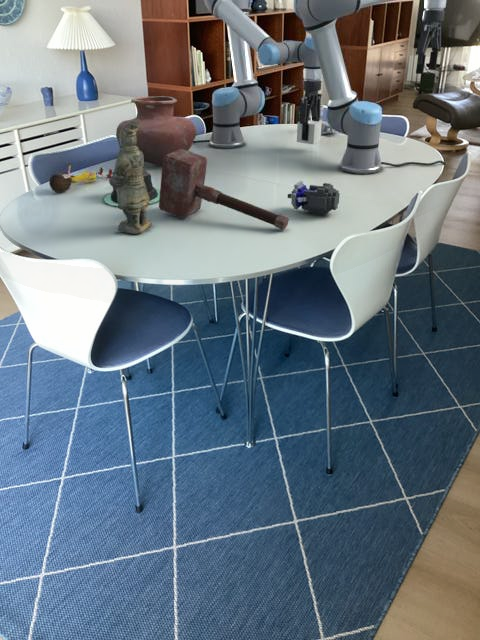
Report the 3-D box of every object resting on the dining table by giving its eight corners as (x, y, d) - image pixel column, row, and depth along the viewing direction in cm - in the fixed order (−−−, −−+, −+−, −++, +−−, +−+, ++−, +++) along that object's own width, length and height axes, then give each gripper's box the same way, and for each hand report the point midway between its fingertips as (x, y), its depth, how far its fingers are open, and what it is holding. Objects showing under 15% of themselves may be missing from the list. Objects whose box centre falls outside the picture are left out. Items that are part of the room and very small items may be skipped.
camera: (318, 104, 267) (345, 108, 259) (317, 129, 274) (342, 134, 265) (308, 106, 262) (334, 110, 253) (306, 132, 268) (332, 137, 259)
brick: (303, 139, 240) (304, 119, 236) (320, 141, 236) (321, 122, 232) (296, 141, 236) (297, 122, 232) (313, 144, 232) (314, 124, 227)
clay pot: (204, 155, 234) (201, 91, 222) (186, 175, 209) (181, 105, 196) (136, 153, 239) (129, 91, 227) (109, 172, 214) (100, 104, 201)
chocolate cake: (91, 202, 180) (113, 186, 197) (142, 231, 182) (160, 212, 199) (107, 162, 172) (129, 148, 190) (160, 192, 174) (177, 176, 192)
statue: (131, 220, 168) (117, 116, 152) (158, 224, 164) (147, 118, 149) (109, 233, 159) (93, 124, 144) (138, 237, 156) (124, 126, 140)
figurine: (118, 166, 204) (64, 174, 185) (119, 186, 207) (65, 196, 188) (93, 161, 211) (38, 168, 191) (95, 181, 214) (40, 190, 195)
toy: (295, 178, 172) (342, 184, 166) (295, 205, 177) (340, 211, 171) (285, 186, 166) (333, 192, 160) (284, 213, 170) (331, 220, 164)
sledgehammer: (299, 190, 156) (179, 147, 167) (285, 200, 148) (161, 154, 160) (286, 244, 166) (174, 200, 177) (272, 256, 158) (156, 209, 170)
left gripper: (315, 76, 231) (312, 133, 243) (291, 81, 218) (289, 141, 230) (331, 77, 228) (327, 135, 240) (308, 83, 215) (305, 144, 227)
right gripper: (435, 8, 216) (427, 67, 227) (412, 10, 199) (404, 74, 209) (455, 8, 212) (446, 68, 223) (432, 10, 195) (423, 75, 206)
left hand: (308, 138), depth 235 cm, fingers closed on brick, 6 cm apart
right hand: (425, 71), depth 216 cm, fingers open, 13 cm apart
